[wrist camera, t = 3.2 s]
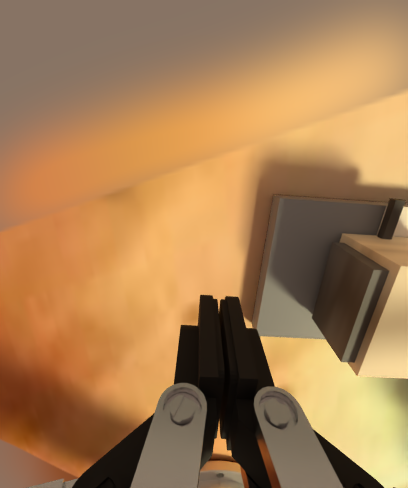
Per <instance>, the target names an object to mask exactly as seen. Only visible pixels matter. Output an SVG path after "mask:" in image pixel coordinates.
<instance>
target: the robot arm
mask: <svg viewBox="0 0 408 488" xmlns="http://www.w3.org/2000/svg"><path fill="white" fill-rule="evenodd" d="M219 421H220V436H221V439H226V443H227V450H231V451H232V457H233V458H234V459H235V460H236V461H237V462H238V463H235V462H230V461H218V460H217V461H208V460H209V459H210V458H211V456H212V453H213V445H214V438H216V437H217V431H218V424H219ZM28 488H384V487H383V486H382V485H381V484H380V483H379V482H378V481H377V480H376V479H374V478H373V477H372V476H371V475H369V474H368V473H367V472H366V471H364V470H363V469H362V468H361V467H359V466H358V465H357V464H356V463H355V462H353V461H352V460H351V459H350V458H348V457H347V456H346V455H345V454H343V453H342V452H341V451H340V450H338V449H337V448H336V447H335V446H333V445H332V444H331V443H330V442H328V441H327V440H326V439H325V438H323V437H322V436H321V435H320V434H318V433H317V432H316V431H315V430H313V429H312V427H311V425H310V423H309V421H308V419H307V417H306V416H305V414H304V412H303V410H302V408H301V406H300V405H299V403H298V402H297V400H296V399H295V398H294V397H293V396H292V395H291V394H290V393H288V392H287V391H285V390H283V389H281V388H278V387H275V386H274V383H273V379H272V376H271V373H270V370H269V366H268V363H267V360H266V356H265V353H264V350H263V346H262V343H261V340H260V337H259V333H258V331H257V329H253V328H246V326H245V322H244V317H243V313H242V309H241V305H240V301H239V298H238V297H230V296H226V297H225V300H224V299H221V301H220V309H219V310H218V301H217V299H213V296H211V295H200V305H199V318H198V326H191V325H181V328H180V337H179V345H178V354H177V362H176V371H175V379H174V385H172V386H170V387H169V388H167V389H166V390H165V391H164V392H163V393H162V395H161V397H160V399H159V401H158V404H157V407H156V410H155V413H154V414H153V415H152V416H151V417H149V418H148V419H147V420H146V421H145V422H143V423H142V424H141V425H140V426H139V427H138V428H136V429H135V430H134V431H133V432H132V433H130V434H129V435H128V436H127V437H126V438H124V439H123V440H122V441H121V442H120V443H119V444H117V445H116V446H115V447H114V448H113V449H111V450H110V451H109V452H108V453H107V454H105V455H104V456H103V457H102V458H101V459H100V460H98V461H97V462H96V463H95V464H94V465H92V466H91V467H90V468H89V469H88V470H87V471H85V472H84V473H83V474H82V475H81V476H80V477H79V478H78V479H74V480H70V481H67V482H65V481H64V479H60V480H55V481H51V482H47V483H44V484H40V485H36V486H32V487H28ZM393 488H395V487H393Z"/></svg>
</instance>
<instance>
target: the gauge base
mask: <svg viewBox="0 0 408 488" xmlns="http://www.w3.org/2000/svg"><path fill="white" fill-rule="evenodd" d="M388 203H389V202H374V201H360V200H345V199H331V198H316V197H301V196H287V195H273V200H272V206H271V212H270V218H269V224H268V230H267V236H266V242H265V248H264V254H263V259H262V265H261V271H260V277H259V283H258V289H257V295H256V301H255V307H254V313H253V319H252V326H253V329H257V331H258V333H259V336H270V337H290V338H310V339H325V337H324V336H323V334H322V333H321V331H320V330H319V328H318V327H317V325H316V324H315V322H314V321H313V319H312V315H313V311H314V307H315V304H316V300H317V297H318V293H319V289H320V286H321V282H322V278H323V275H324V271H325V267H326V264H327V260H328V256H329V253H330V249H331V245H332V242H338V243H340V239H341V236H342V233H345V234H361V235H376V236H377V235H378V232H379V229H380V226H381V223H382V220H383V217H384V214H385V212H386V209H387V206H388ZM393 237H408V204H404V207H403V209H402V212H401V215H400V218H399V220H398V223H397V226H396V229H395V231H394V234H393Z"/></svg>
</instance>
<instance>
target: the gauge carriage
mask: <svg viewBox="0 0 408 488" xmlns="http://www.w3.org/2000/svg"><path fill="white" fill-rule="evenodd" d="M404 204H405V200H400V199H390V200H389V203H388V206H387V209H386V212H385V214H384V217H383V220H382V223H381V226H380V229H379V232H378V235H377V236H376V235H361V234H345V233H342V236H341V239H340V243H338V242H332V245H331V249H330V253H329V256H328V260H327V264H326V267H325V271H324V275H323V278H322V282H321V286H320V289H319V293H318V297H317V300H316V304H315V307H314V311H313V315H312V319H313V321H314V322H315V324H316V325H317V327H318V328H319V330H320V331H321V333H322V334H323V336H324V337H325V339H326V340H327V342H328V343H329V345H330V346H331V348H332V349H333V351H334V352H335V353H336V355H337V356H338V358H339V359H340V361H341V362H348V364H349V365H350V367H351V368H352V370H353V371H354V372H355V374H356V375H357V376H360V377H382V378H405V379H408V237H393V234H394V231H395V229H396V226H397V223H398V220H399V218H400V215H401V212H402V209H403V207H404Z"/></svg>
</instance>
